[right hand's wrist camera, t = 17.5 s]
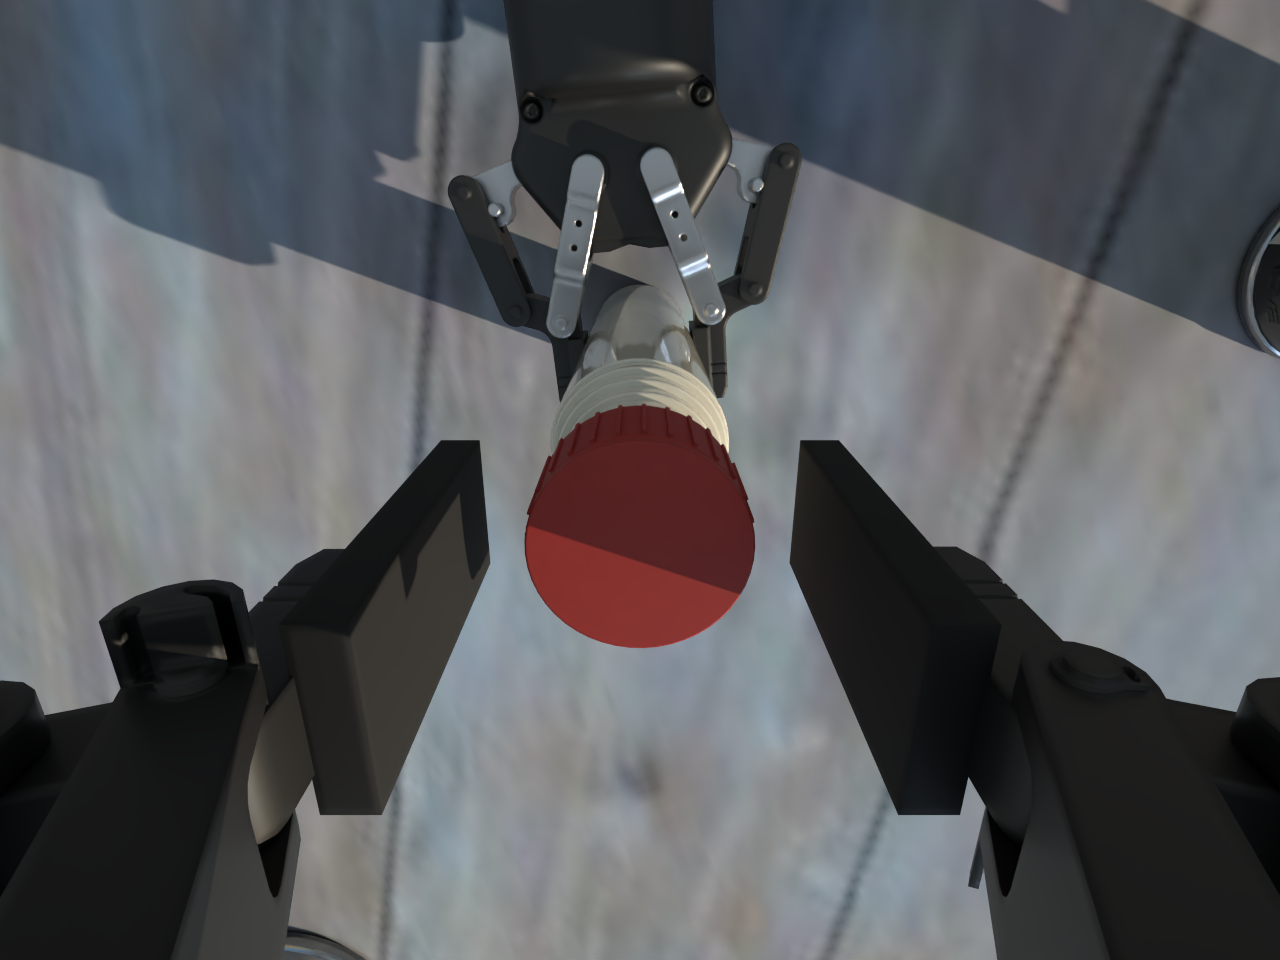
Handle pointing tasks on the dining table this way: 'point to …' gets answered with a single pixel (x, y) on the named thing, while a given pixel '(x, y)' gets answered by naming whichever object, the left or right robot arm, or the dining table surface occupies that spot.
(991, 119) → the dining table surface
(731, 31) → the dining table surface
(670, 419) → the cap
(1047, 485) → the dining table surface
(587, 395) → the bottle
